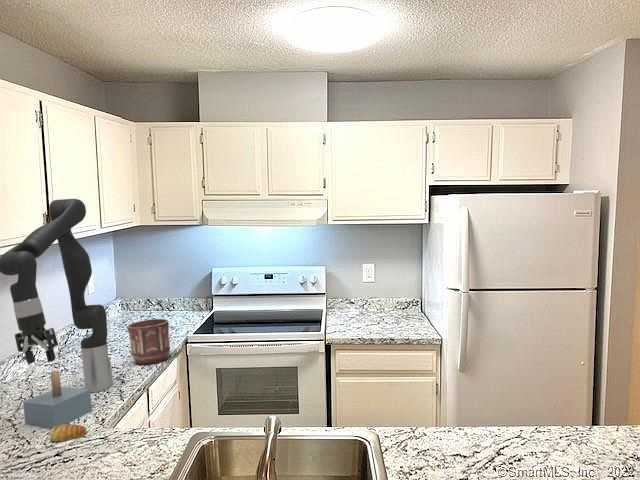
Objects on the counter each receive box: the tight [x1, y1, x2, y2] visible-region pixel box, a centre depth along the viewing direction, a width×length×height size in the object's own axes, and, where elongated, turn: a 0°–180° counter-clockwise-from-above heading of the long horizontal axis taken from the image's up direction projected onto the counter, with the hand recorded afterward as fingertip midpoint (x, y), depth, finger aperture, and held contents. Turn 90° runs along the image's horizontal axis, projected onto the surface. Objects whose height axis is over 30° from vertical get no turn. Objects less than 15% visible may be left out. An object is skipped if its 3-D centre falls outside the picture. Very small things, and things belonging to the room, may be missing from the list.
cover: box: [22, 370, 93, 429], centre depth 157 cm, size 14×14×16 cm
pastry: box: [49, 423, 87, 443], centre depth 142 cm, size 9×7×4 cm
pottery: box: [126, 318, 171, 365], centre depth 217 cm, size 18×18×18 cm
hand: (41, 361), depth 150 cm, fingers open, 8 cm apart
